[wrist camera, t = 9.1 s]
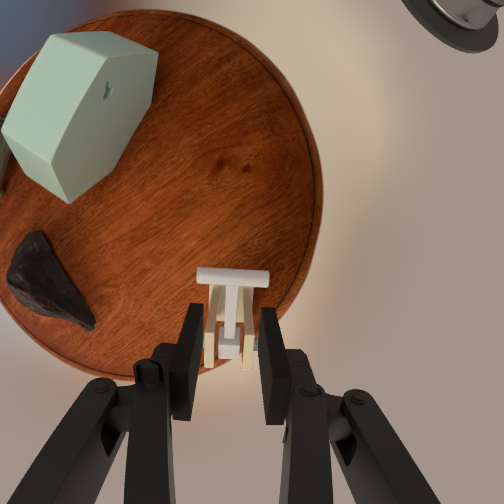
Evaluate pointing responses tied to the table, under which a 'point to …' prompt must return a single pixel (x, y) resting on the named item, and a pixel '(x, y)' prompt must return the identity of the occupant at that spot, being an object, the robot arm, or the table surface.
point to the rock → (45, 283)
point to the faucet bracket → (218, 314)
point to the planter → (79, 109)
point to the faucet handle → (231, 301)
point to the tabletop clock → (3, 155)
